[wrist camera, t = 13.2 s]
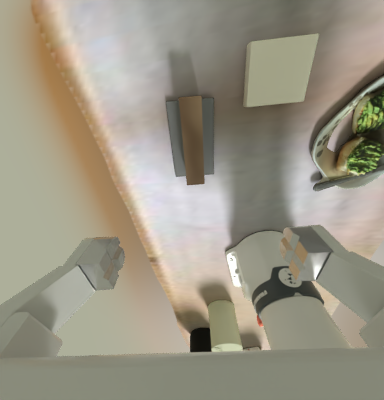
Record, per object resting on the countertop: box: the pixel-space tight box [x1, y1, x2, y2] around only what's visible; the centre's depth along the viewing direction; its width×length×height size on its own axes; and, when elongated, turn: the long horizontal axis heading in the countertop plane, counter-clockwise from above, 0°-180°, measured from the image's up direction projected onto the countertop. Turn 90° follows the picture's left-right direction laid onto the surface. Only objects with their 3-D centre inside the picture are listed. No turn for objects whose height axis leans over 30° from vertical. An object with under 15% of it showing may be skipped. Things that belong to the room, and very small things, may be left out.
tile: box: [243, 33, 319, 107], centre depth 23 cm, size 7×2×8 cm
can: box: [208, 300, 243, 352], centre depth 53 cm, size 9×9×12 cm
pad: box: [166, 98, 214, 177], centre depth 28 cm, size 12×7×1 cm, turn 4°
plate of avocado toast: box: [311, 74, 384, 191], centre depth 27 cm, size 19×18×5 cm
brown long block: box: [179, 96, 204, 185], centre depth 25 cm, size 3×12×4 cm, turn 4°
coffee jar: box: [190, 328, 212, 352], centre depth 62 cm, size 11×11×18 cm
